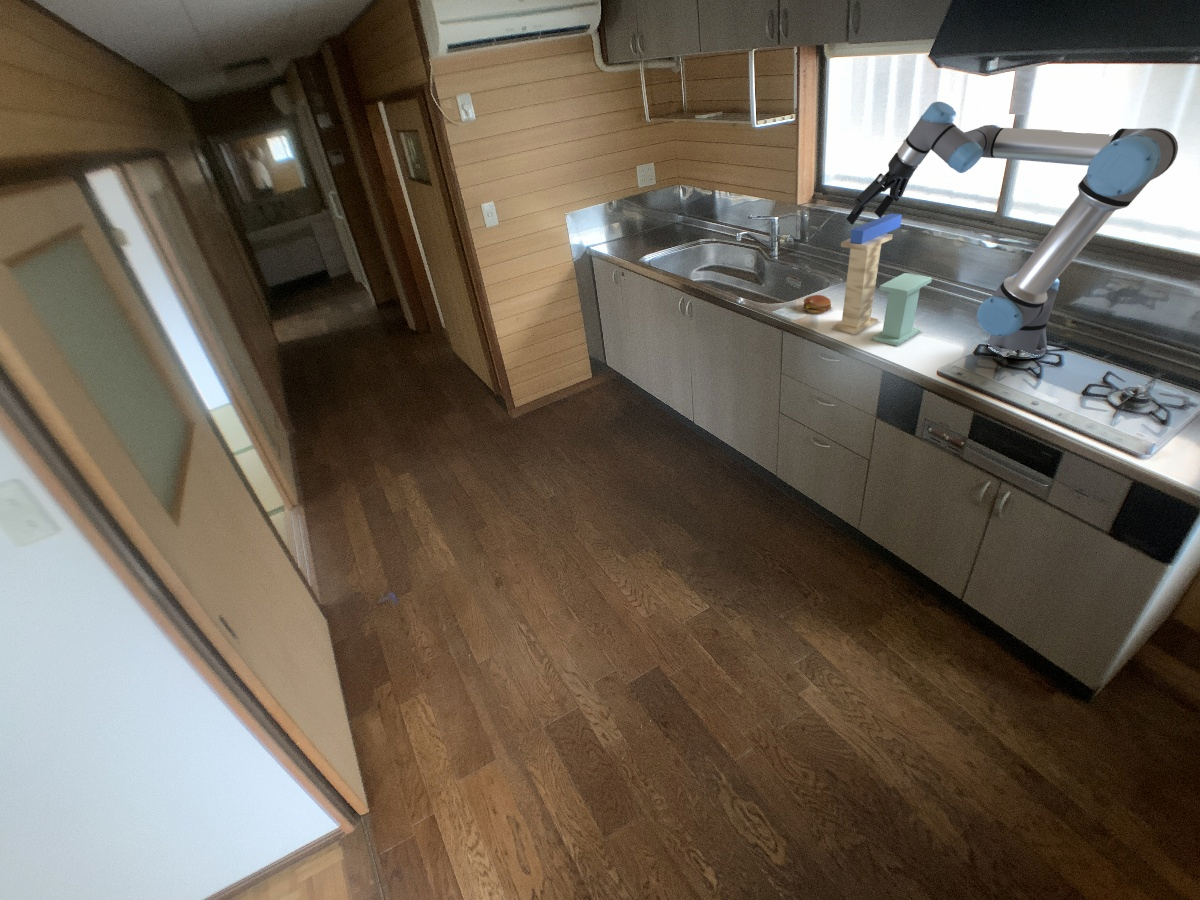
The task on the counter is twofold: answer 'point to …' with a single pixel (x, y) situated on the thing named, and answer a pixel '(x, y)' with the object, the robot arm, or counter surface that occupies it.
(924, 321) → the counter surface
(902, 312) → the low pedestal
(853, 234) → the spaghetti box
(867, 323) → the tall pedestal
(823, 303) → the burger
